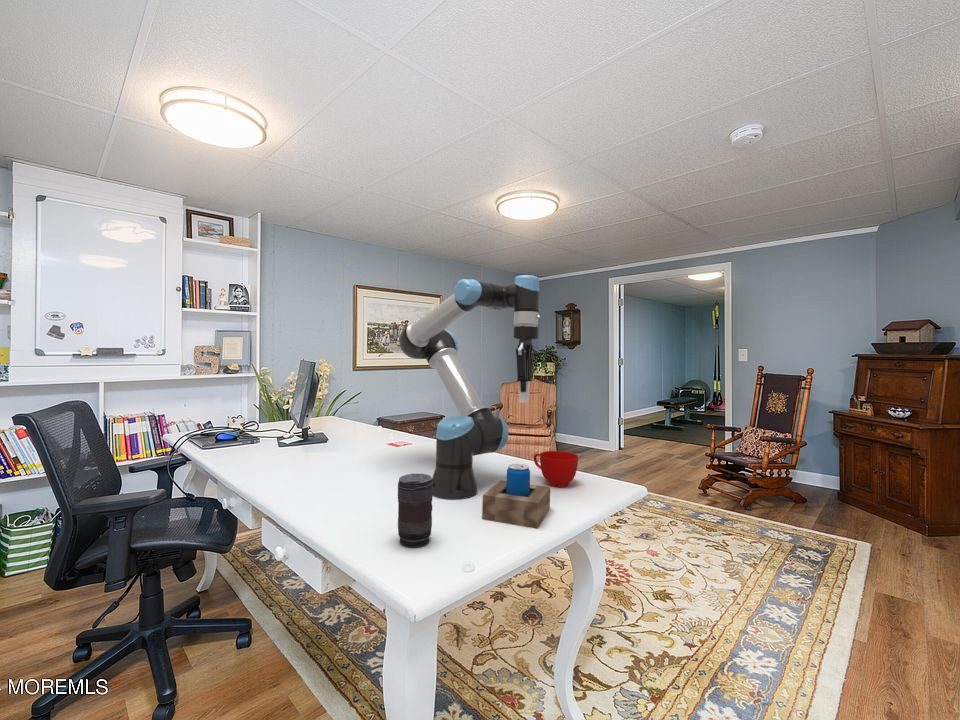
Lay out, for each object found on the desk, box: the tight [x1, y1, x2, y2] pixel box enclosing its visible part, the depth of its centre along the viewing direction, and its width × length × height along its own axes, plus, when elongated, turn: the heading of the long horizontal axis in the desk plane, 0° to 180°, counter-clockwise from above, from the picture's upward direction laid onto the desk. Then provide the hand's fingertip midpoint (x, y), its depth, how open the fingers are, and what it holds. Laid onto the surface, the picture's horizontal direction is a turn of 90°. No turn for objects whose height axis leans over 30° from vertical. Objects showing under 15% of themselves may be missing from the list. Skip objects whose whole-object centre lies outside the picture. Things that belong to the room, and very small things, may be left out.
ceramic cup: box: [533, 450, 579, 488], centre depth 152 cm, size 13×17×10 cm
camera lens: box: [397, 473, 434, 548], centre depth 102 cm, size 8×8×15 cm
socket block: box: [481, 480, 551, 529], centre depth 121 cm, size 15×15×6 cm
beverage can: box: [505, 463, 531, 497], centre depth 121 cm, size 6×6×12 cm
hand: (524, 402), depth 136 cm, fingers closed
